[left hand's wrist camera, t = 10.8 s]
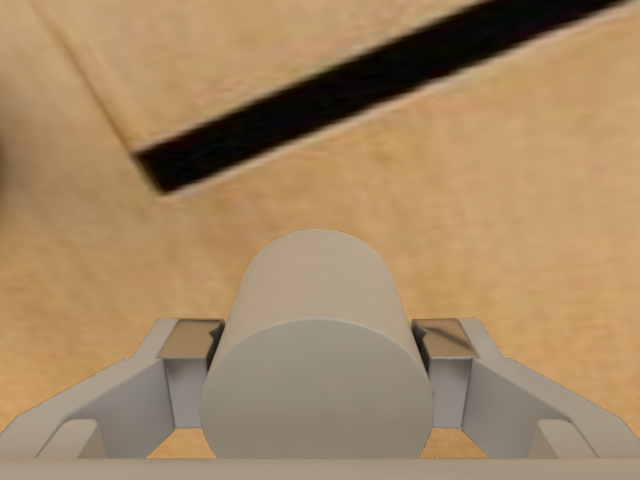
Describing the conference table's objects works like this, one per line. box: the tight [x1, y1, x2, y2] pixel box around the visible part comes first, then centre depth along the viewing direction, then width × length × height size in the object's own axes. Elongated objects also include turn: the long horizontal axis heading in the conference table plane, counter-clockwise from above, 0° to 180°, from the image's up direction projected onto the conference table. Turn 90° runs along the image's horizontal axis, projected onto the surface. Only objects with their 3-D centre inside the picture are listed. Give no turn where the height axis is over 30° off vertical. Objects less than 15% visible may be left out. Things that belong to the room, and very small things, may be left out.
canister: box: [200, 229, 435, 459], centre depth 10 cm, size 4×4×4 cm
